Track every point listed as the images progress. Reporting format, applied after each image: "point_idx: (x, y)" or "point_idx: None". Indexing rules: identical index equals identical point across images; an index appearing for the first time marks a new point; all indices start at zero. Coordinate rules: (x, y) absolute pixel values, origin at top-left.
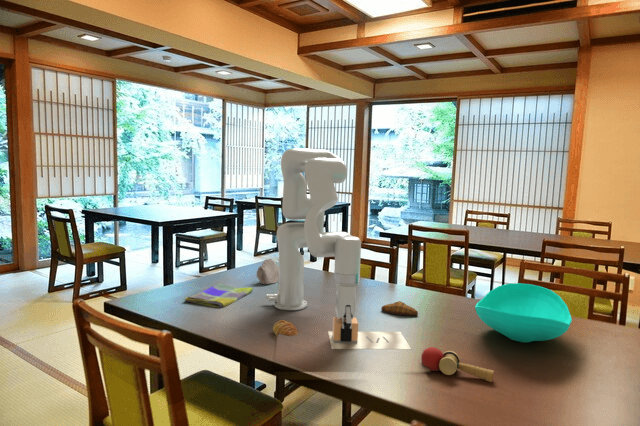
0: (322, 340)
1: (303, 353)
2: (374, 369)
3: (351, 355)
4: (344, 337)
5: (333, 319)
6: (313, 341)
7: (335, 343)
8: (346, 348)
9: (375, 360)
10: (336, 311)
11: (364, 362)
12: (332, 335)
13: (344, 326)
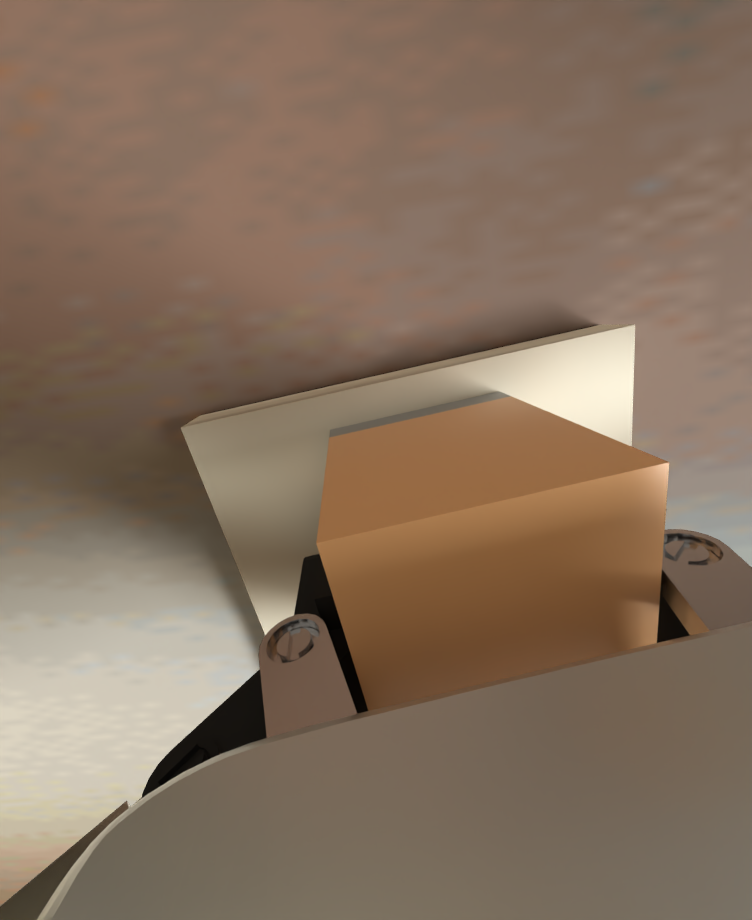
0: (487, 283)
1: (91, 101)
2: (71, 712)
3: (231, 567)
4: (303, 571)
5: (538, 492)
6: (449, 180)
7: (322, 447)
8: (240, 553)
9: (209, 704)
10: (572, 783)
11: (148, 654)
12: (490, 397)
13: (230, 705)
